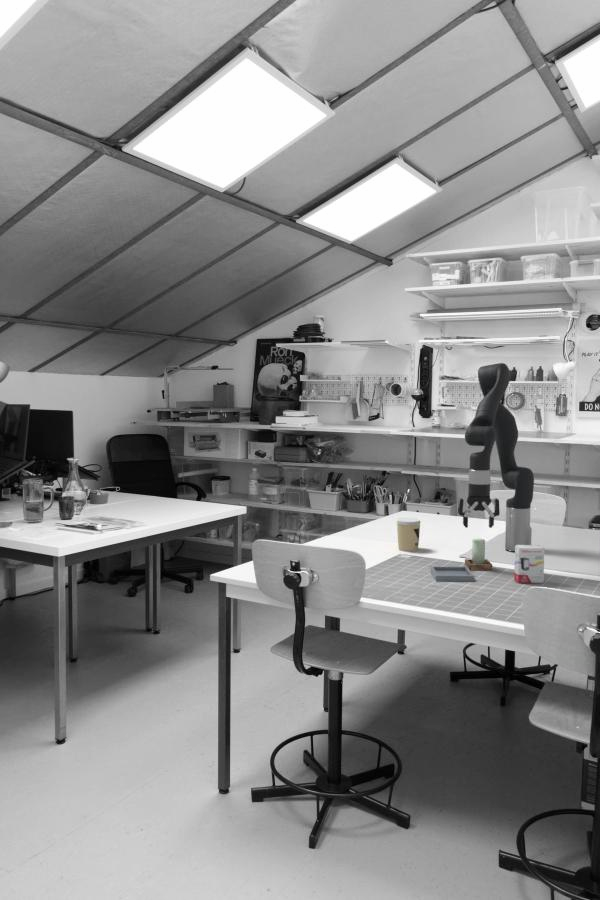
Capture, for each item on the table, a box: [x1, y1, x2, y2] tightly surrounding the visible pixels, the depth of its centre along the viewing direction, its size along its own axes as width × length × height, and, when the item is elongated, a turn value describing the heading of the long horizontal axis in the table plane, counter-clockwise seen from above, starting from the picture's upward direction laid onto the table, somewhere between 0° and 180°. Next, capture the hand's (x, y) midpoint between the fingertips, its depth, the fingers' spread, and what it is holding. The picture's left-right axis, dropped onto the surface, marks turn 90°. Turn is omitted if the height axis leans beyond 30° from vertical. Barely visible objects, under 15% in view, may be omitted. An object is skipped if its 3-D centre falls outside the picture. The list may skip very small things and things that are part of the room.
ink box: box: [513, 544, 545, 584], centre depth 235 cm, size 9×5×12 cm, turn 89°
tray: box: [430, 565, 475, 582], centre depth 242 cm, size 13×13×2 cm
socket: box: [464, 558, 493, 571], centre depth 254 cm, size 8×8×2 cm
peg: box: [471, 538, 486, 564], centre depth 253 cm, size 4×4×10 cm
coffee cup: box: [396, 517, 421, 553], centre depth 282 cm, size 9×9×12 cm
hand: (478, 527), depth 253 cm, fingers open, 8 cm apart
